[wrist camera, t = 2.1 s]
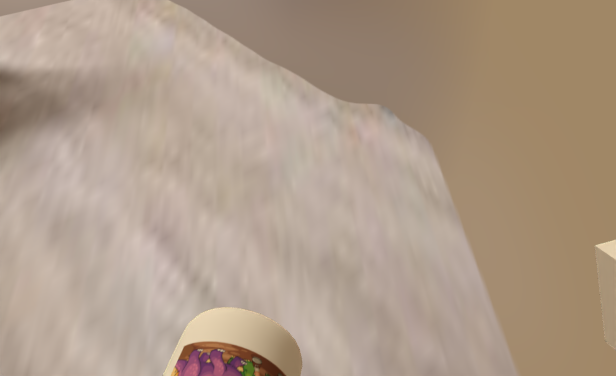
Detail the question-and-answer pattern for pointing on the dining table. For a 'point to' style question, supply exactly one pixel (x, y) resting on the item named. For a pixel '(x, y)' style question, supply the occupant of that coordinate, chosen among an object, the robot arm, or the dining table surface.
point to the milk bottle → (235, 346)
